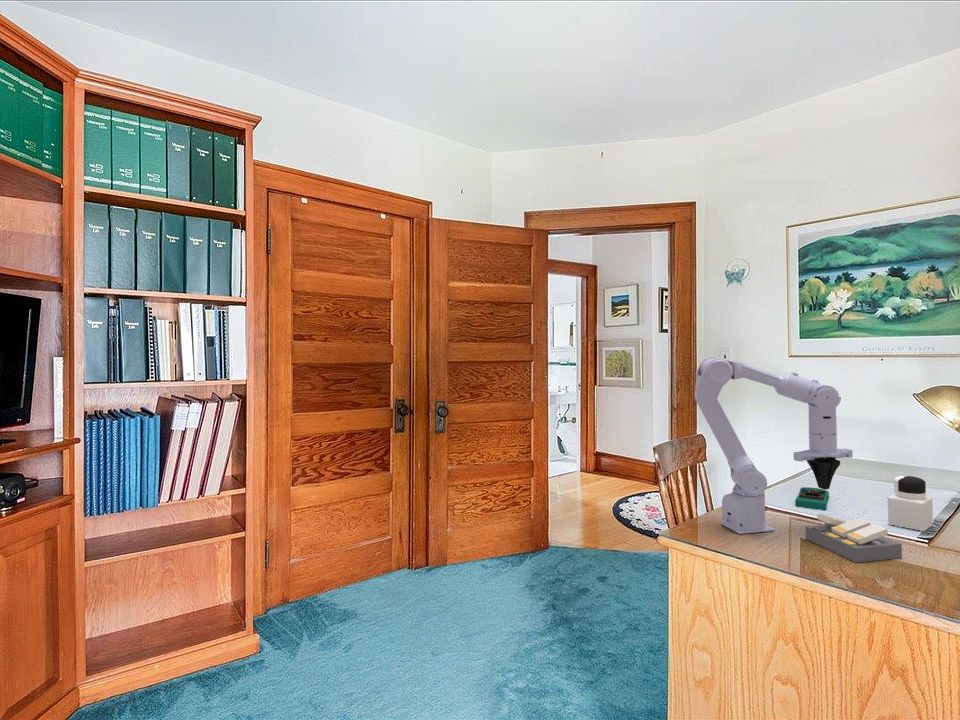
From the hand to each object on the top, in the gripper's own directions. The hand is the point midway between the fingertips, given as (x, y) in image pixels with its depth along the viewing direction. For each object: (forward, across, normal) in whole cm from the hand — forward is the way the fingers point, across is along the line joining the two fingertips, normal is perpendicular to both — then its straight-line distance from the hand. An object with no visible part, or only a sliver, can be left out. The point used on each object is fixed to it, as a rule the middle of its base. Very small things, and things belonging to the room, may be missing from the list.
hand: (823, 488), depth 129 cm
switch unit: (+10, -3, -11) cm, 15 cm away
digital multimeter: (+11, +14, +20) cm, 27 cm away
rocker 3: (+6, -3, -15) cm, 17 cm away
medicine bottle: (+11, +22, -2) cm, 25 cm away
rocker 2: (+6, -3, -11) cm, 13 cm away
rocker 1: (+6, -3, -7) cm, 9 cm away
